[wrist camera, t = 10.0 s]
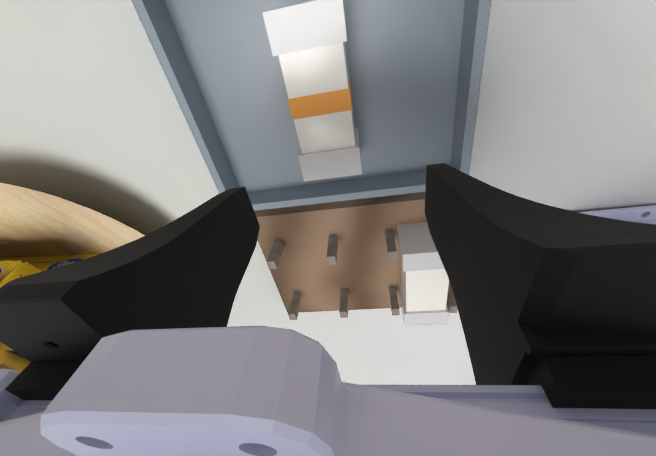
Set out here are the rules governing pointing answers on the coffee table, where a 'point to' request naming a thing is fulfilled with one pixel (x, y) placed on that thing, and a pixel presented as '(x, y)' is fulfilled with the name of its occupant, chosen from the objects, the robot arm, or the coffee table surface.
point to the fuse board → (339, 253)
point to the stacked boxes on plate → (49, 240)
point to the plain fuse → (421, 277)
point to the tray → (366, 84)
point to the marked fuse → (317, 85)
